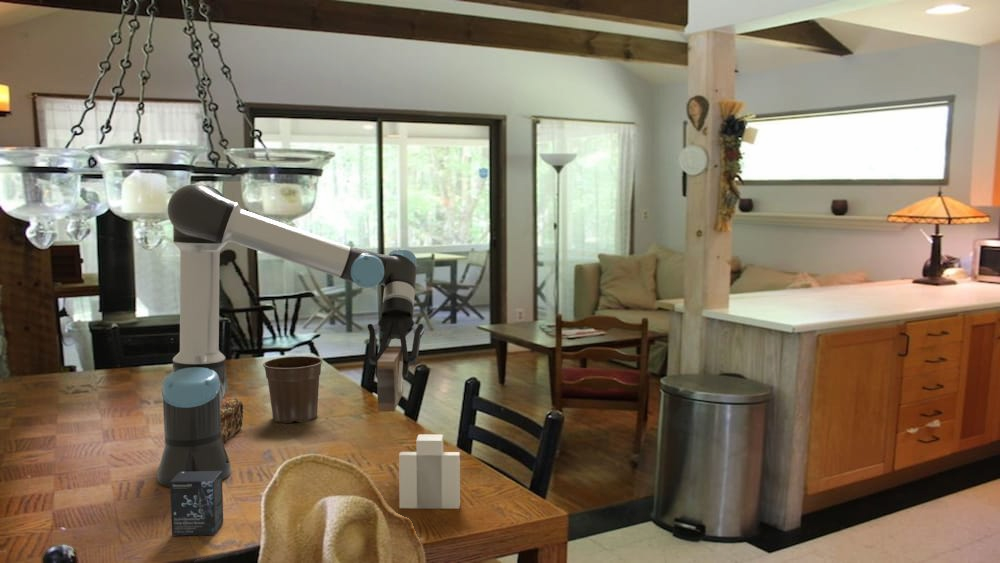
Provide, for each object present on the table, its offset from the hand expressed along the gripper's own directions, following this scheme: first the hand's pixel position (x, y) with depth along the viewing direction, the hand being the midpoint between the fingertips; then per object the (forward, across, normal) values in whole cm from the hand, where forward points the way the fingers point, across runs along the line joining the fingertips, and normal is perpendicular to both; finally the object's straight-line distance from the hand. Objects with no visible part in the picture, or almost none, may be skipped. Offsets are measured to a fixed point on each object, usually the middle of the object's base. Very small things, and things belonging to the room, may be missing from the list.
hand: (390, 389), depth 172 cm
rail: (+1, 0, -4) cm, 4 cm away
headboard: (+25, -10, -2) cm, 27 cm away
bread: (-4, +50, -32) cm, 59 cm away
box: (+35, +32, +8) cm, 48 cm away
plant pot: (-17, +33, -45) cm, 59 cm away
